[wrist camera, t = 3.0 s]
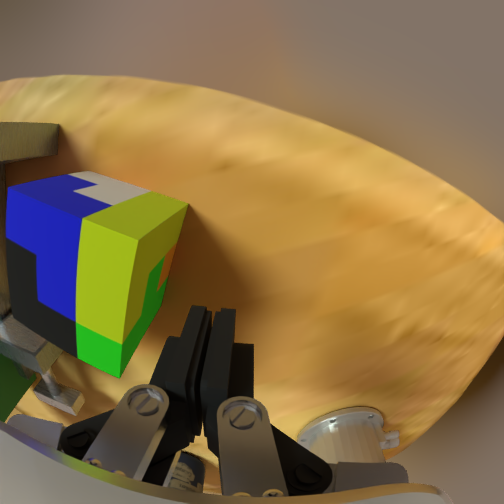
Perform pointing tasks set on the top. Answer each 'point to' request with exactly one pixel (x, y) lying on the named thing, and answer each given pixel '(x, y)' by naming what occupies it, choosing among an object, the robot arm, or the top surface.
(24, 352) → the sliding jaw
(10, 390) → the hardback book
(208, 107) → the top surface
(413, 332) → the top surface
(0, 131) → the vise body
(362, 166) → the top surface
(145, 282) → the puzzle toy
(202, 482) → the canister
